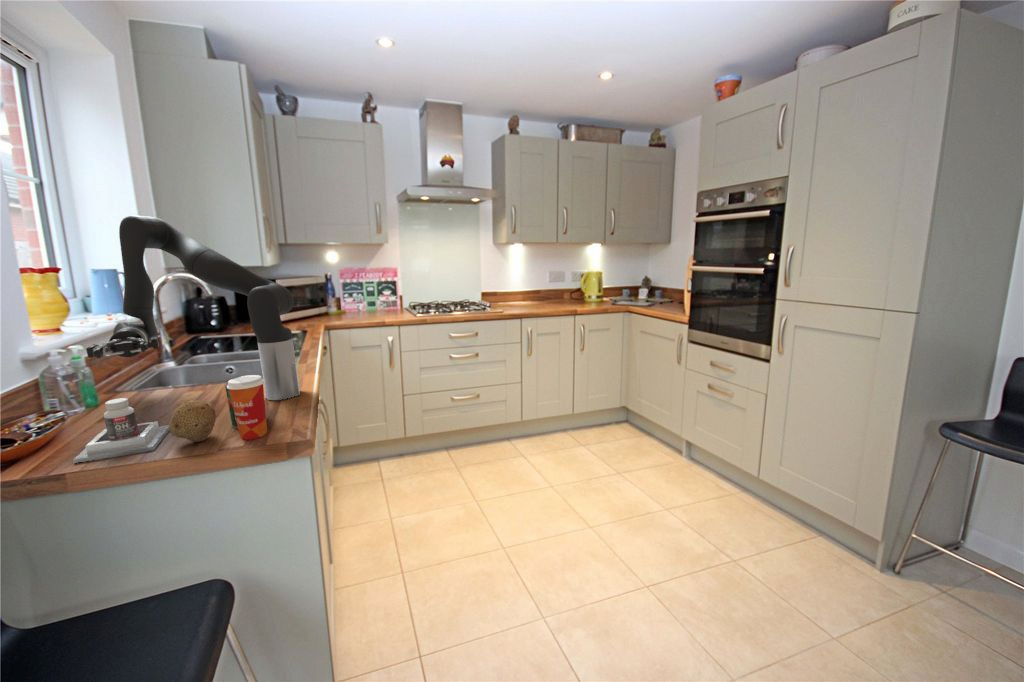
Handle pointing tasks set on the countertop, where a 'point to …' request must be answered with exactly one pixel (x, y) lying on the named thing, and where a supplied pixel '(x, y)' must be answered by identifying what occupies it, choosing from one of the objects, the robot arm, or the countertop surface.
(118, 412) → the pill bottle
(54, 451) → the countertop surface
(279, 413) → the countertop surface
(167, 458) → the countertop surface
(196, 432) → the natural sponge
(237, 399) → the paper cup
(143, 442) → the duct collar
